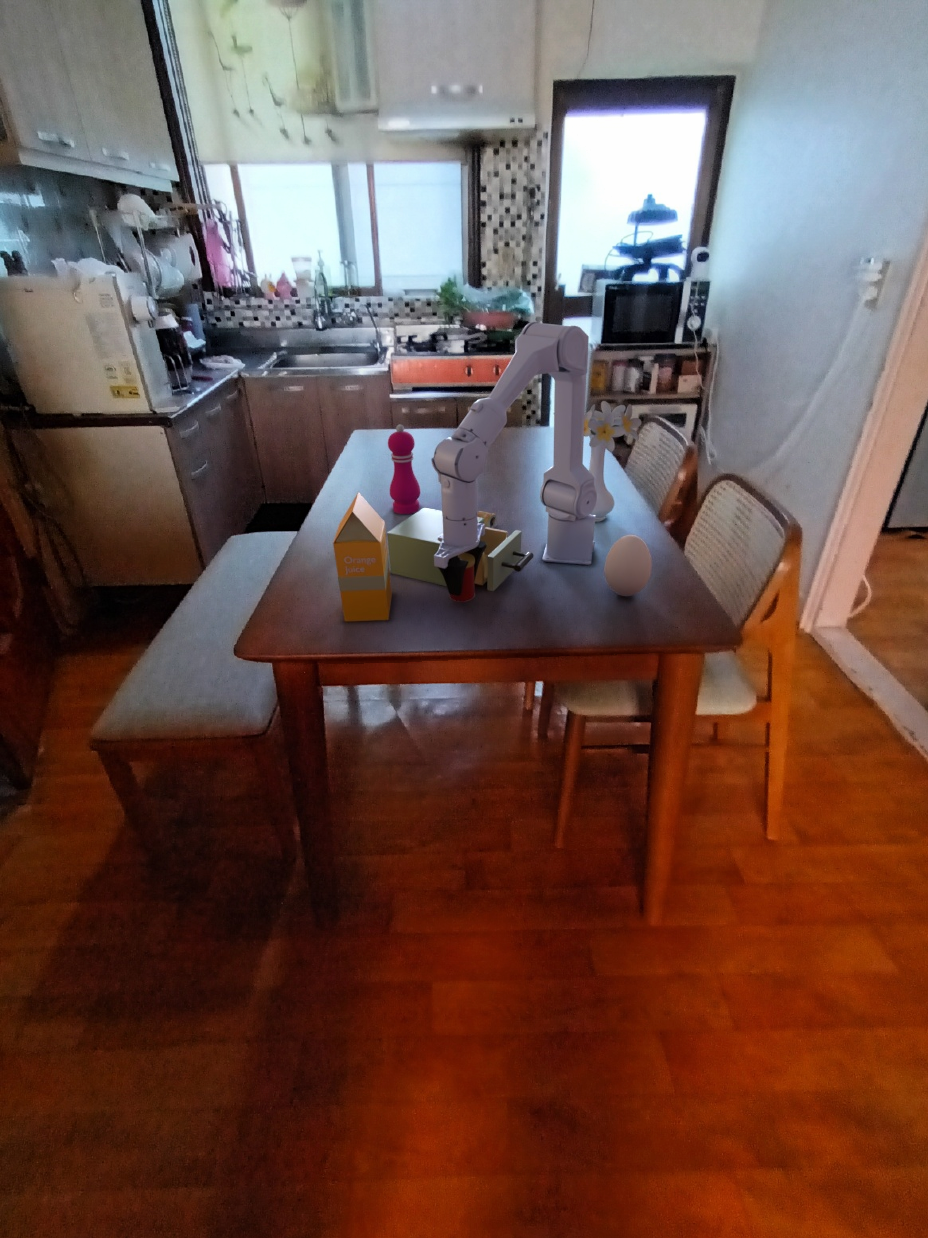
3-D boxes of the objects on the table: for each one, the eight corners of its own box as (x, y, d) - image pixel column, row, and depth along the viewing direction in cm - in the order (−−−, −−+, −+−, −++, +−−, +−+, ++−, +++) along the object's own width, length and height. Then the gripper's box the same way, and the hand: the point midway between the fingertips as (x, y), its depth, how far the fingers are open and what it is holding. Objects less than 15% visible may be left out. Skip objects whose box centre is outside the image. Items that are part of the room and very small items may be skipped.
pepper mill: (385, 512, 147) (376, 426, 136) (401, 501, 152) (394, 419, 142) (411, 517, 144) (404, 430, 133) (427, 506, 149) (422, 422, 139)
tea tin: (477, 590, 110) (477, 553, 106) (472, 603, 106) (471, 565, 102) (452, 587, 111) (450, 551, 107) (445, 600, 107) (444, 563, 103)
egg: (593, 594, 112) (598, 536, 106) (618, 579, 116) (624, 522, 110) (631, 610, 107) (639, 550, 101) (655, 593, 111) (665, 535, 105)
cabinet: (484, 557, 125) (484, 518, 121) (452, 587, 115) (450, 545, 110) (426, 545, 131) (424, 507, 126) (390, 573, 121) (386, 532, 116)
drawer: (539, 566, 119) (540, 534, 116) (513, 596, 110) (513, 561, 107) (464, 551, 126) (463, 520, 122) (433, 577, 117) (431, 544, 113)
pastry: (449, 530, 137) (448, 513, 135) (462, 519, 142) (461, 503, 140) (488, 536, 134) (488, 519, 132) (500, 524, 139) (500, 508, 137)
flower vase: (545, 508, 147) (550, 399, 133) (622, 505, 147) (635, 396, 134) (553, 530, 136) (560, 414, 122) (637, 527, 136) (653, 411, 123)
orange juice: (392, 594, 113) (382, 489, 103) (389, 620, 106) (377, 510, 95) (349, 596, 113) (335, 491, 103) (343, 621, 106) (326, 511, 95)
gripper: (459, 495, 108) (461, 565, 115) (415, 526, 97) (420, 601, 104) (496, 501, 105) (495, 573, 112) (455, 534, 94) (457, 610, 101)
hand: (461, 587), depth 108 cm, fingers closed on tea tin, 4 cm apart
